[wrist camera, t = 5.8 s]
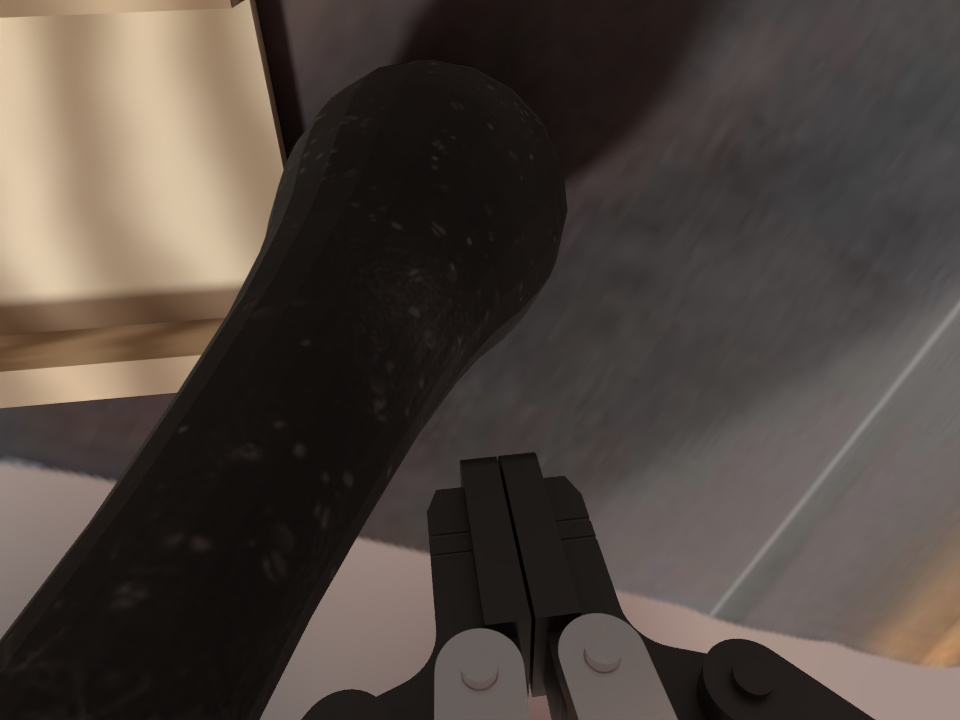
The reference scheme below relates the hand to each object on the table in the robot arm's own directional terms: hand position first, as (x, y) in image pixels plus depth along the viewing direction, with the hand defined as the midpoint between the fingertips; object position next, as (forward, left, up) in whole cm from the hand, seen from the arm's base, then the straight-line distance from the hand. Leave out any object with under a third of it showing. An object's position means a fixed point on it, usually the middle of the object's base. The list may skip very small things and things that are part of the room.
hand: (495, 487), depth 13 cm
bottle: (-1, 0, -21) cm, 21 cm away
